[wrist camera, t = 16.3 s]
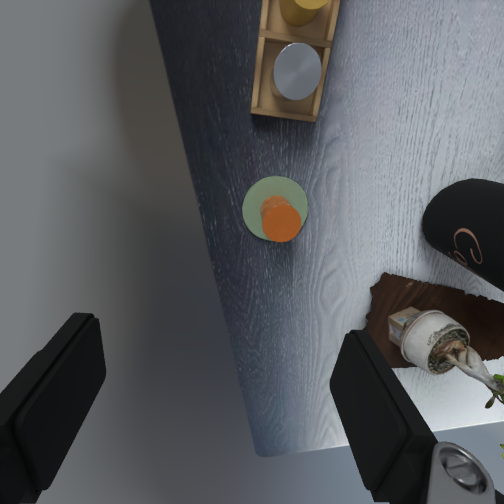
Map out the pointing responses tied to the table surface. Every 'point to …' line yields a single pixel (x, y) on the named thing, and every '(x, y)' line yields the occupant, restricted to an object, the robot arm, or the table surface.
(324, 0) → the cylinder
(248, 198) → the coaster
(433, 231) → the coffee jar
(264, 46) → the pod holder
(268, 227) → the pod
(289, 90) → the disc
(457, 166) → the table surface
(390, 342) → the potted plant
